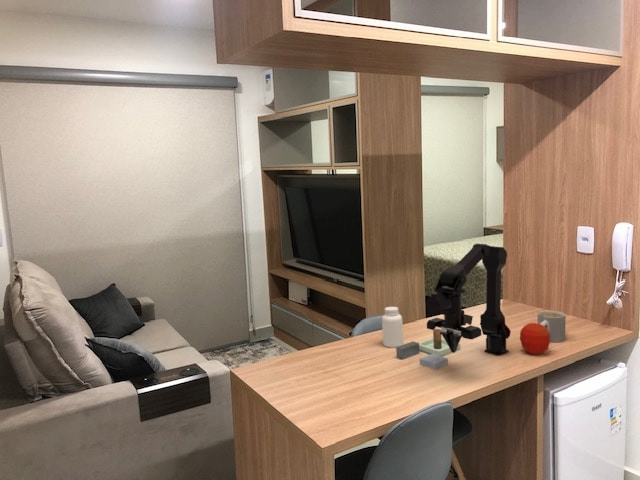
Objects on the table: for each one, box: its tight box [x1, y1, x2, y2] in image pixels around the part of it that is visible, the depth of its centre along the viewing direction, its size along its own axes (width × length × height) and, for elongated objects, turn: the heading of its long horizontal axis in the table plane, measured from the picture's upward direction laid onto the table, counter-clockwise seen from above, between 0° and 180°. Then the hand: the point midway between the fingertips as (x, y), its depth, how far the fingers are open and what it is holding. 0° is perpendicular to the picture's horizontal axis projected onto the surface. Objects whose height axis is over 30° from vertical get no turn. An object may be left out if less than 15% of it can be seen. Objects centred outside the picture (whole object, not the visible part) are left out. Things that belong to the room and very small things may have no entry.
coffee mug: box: [537, 310, 566, 344], centre depth 206 cm, size 13×10×10 cm
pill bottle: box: [381, 306, 404, 349], centre depth 210 cm, size 8×8×15 cm
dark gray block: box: [395, 340, 420, 360], centre depth 198 cm, size 3×9×4 cm, turn 127°
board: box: [418, 354, 449, 370], centre depth 188 cm, size 7×7×2 cm
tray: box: [418, 337, 461, 357], centre depth 203 cm, size 12×12×2 cm
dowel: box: [432, 328, 442, 349], centre depth 202 cm, size 3×3×7 cm
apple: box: [519, 322, 551, 356], centre depth 194 cm, size 10×10×12 cm
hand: (453, 352), depth 180 cm, fingers closed
